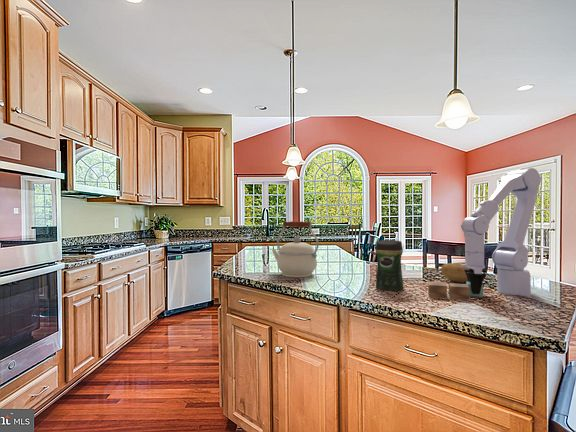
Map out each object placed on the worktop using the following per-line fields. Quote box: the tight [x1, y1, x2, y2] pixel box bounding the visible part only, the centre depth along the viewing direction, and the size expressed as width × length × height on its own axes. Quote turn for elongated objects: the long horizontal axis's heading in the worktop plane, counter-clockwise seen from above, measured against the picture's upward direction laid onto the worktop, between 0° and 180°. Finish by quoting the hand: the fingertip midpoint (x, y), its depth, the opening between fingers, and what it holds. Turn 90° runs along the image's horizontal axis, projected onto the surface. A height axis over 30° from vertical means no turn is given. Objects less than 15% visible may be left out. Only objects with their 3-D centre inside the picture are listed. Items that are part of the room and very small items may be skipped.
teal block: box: [465, 282, 484, 298], centre depth 118 cm, size 4×4×4 cm
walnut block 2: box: [448, 282, 470, 301], centre depth 114 cm, size 6×6×4 cm
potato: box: [440, 262, 470, 284], centre depth 143 cm, size 10×14×8 cm
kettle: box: [271, 220, 320, 279], centre depth 161 cm, size 25×18×25 cm
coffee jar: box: [375, 239, 404, 292], centre depth 128 cm, size 10×8×19 cm
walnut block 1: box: [427, 281, 448, 299], centre depth 116 cm, size 6×6×4 cm
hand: (474, 291), depth 118 cm, fingers open, 5 cm apart
